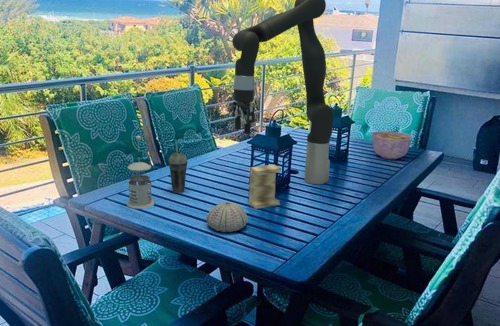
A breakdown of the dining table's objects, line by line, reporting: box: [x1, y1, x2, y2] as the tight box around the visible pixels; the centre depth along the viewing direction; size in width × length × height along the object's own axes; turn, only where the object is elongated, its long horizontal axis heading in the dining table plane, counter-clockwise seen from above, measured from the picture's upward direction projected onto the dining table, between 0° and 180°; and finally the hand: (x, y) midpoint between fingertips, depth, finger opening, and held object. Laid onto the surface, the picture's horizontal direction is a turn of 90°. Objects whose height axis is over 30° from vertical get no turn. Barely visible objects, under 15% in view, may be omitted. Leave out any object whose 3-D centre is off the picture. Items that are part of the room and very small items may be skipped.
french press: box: [126, 135, 155, 210], centre depth 168 cm, size 10×12×25 cm
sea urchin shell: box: [205, 201, 249, 233], centre depth 153 cm, size 13×14×8 cm
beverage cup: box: [168, 141, 189, 194], centre depth 182 cm, size 7×7×20 cm
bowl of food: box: [371, 130, 413, 160], centre depth 242 cm, size 20×20×12 cm
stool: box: [248, 164, 282, 210], centre depth 171 cm, size 10×5×14 cm, turn 119°
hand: (242, 131), depth 178 cm, fingers open, 8 cm apart
